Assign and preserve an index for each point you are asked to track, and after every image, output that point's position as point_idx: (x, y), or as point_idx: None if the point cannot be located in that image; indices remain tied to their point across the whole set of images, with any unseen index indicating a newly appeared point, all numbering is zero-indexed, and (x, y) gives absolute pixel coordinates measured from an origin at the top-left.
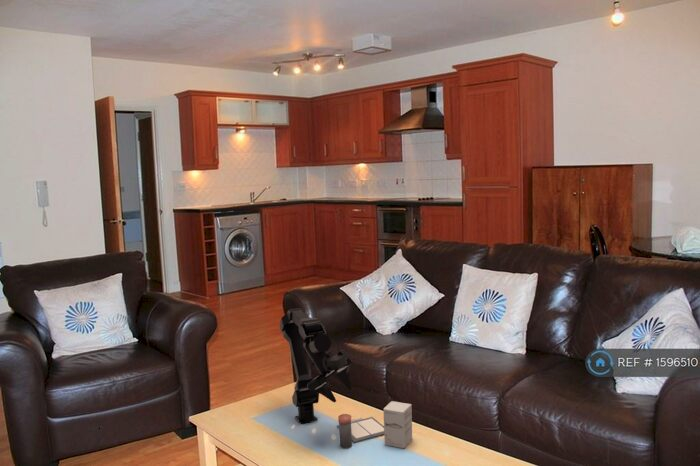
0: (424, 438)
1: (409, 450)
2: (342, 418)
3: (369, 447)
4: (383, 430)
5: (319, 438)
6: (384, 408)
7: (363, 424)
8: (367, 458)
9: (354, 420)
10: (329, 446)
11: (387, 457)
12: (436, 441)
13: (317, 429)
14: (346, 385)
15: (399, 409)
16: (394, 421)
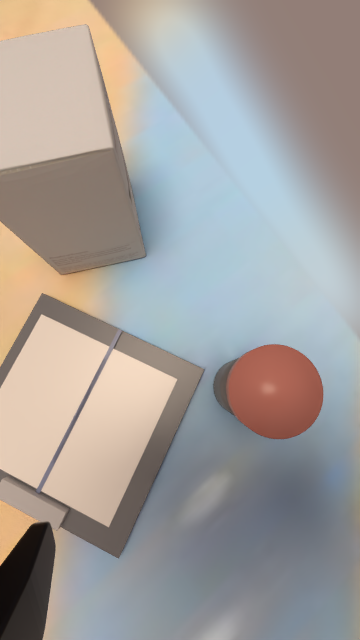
0: None
1: (129, 163)
2: (308, 383)
3: (194, 295)
4: (51, 323)
5: (261, 546)
6: (103, 144)
7: (43, 442)
8: (268, 249)
9: (38, 504)
10: (289, 445)
11: (217, 195)
12: None
13: (194, 633)
14: (35, 637)
15: (65, 58)
16: (117, 134)
